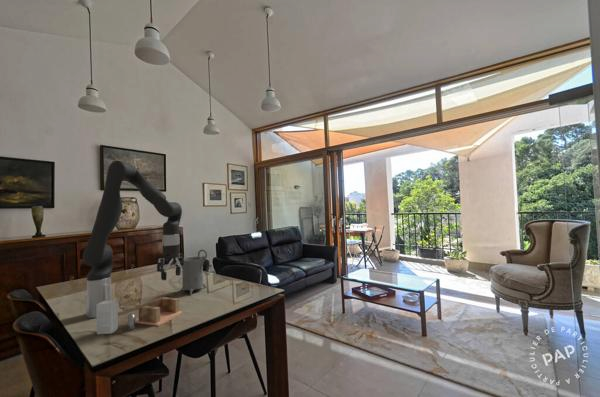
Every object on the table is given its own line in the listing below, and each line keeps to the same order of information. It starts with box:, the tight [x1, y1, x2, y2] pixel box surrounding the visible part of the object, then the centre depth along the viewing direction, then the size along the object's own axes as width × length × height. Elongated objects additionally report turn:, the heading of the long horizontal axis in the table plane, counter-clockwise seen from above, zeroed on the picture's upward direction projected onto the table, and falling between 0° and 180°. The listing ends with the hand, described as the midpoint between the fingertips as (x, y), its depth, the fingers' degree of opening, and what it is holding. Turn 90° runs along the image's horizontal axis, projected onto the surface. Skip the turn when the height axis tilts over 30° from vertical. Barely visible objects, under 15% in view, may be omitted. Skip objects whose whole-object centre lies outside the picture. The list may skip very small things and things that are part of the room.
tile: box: [135, 310, 184, 327], centre depth 121 cm, size 15×14×1 cm
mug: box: [180, 249, 208, 296], centre depth 158 cm, size 19×15×25 cm
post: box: [127, 313, 136, 331], centre depth 110 cm, size 2×2×6 cm
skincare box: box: [96, 300, 119, 335], centre depth 108 cm, size 6×4×12 cm
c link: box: [138, 296, 180, 323], centre depth 121 cm, size 10×13×6 cm
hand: (171, 277), depth 126 cm, fingers open, 8 cm apart
